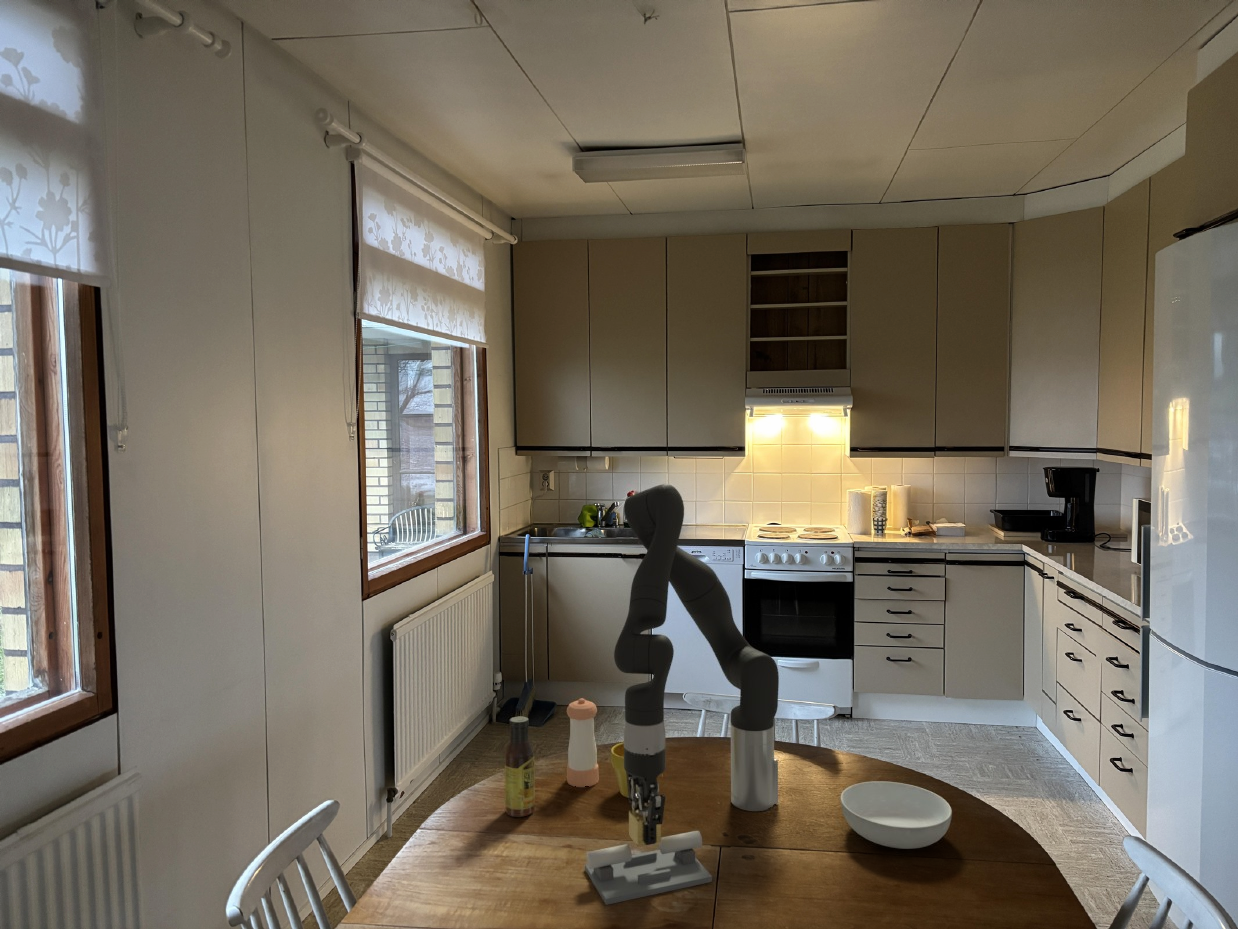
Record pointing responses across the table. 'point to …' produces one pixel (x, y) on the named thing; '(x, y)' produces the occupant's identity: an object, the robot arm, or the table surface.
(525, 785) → the sauce bottle
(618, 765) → the plant pot
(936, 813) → the serving bowl
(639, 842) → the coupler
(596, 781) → the pepper shaker
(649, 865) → the twin roller base
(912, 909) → the table surface
